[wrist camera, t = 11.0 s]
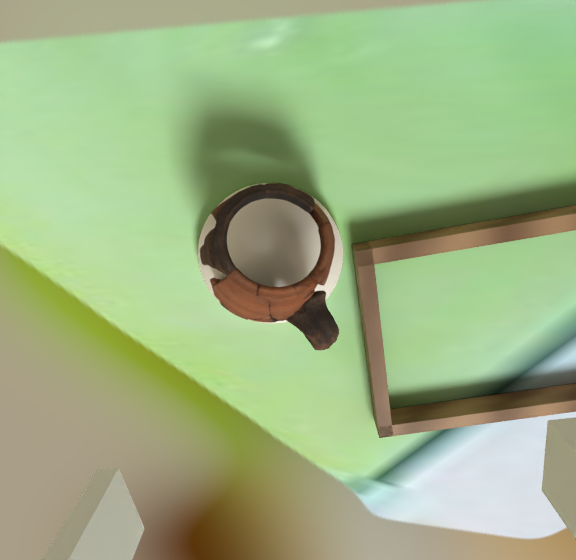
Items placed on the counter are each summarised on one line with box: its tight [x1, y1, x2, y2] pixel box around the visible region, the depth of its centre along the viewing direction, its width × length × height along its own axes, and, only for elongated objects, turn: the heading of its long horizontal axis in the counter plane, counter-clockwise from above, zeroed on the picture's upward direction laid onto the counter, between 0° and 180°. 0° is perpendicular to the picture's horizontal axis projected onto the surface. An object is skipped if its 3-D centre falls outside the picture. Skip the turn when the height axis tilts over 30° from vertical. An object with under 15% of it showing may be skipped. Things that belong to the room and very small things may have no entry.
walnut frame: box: [352, 205, 576, 438], centre depth 30 cm, size 22×17×2 cm
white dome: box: [198, 183, 343, 323], centre depth 29 cm, size 11×11×1 cm
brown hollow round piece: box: [200, 183, 339, 350], centre depth 26 cm, size 12×10×8 cm
